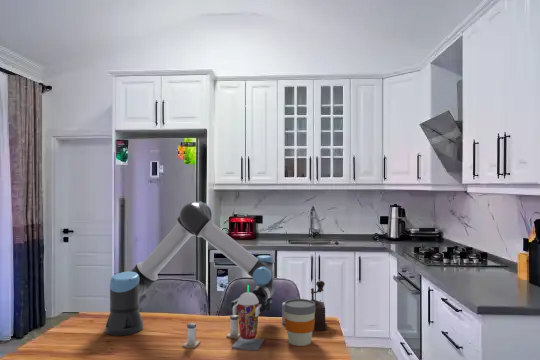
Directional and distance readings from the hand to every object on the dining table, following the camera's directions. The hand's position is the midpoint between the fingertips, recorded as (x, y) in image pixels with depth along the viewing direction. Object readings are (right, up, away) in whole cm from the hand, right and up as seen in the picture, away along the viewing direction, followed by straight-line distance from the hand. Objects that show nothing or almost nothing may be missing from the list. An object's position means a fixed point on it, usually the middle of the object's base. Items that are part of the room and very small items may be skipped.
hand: (244, 312), depth 152 cm
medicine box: (+19, -15, +30) cm, 38 cm away
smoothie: (+1, -11, +4) cm, 12 cm away
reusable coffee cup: (+21, -14, +8) cm, 27 cm away
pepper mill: (+29, -15, +27) cm, 42 cm away
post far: (-5, -14, +13) cm, 20 cm away
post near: (-21, -14, +4) cm, 25 cm away
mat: (+1, -14, +4) cm, 15 cm away
